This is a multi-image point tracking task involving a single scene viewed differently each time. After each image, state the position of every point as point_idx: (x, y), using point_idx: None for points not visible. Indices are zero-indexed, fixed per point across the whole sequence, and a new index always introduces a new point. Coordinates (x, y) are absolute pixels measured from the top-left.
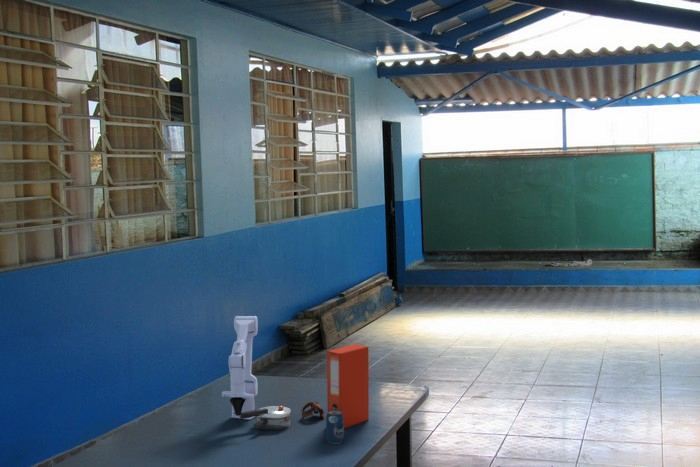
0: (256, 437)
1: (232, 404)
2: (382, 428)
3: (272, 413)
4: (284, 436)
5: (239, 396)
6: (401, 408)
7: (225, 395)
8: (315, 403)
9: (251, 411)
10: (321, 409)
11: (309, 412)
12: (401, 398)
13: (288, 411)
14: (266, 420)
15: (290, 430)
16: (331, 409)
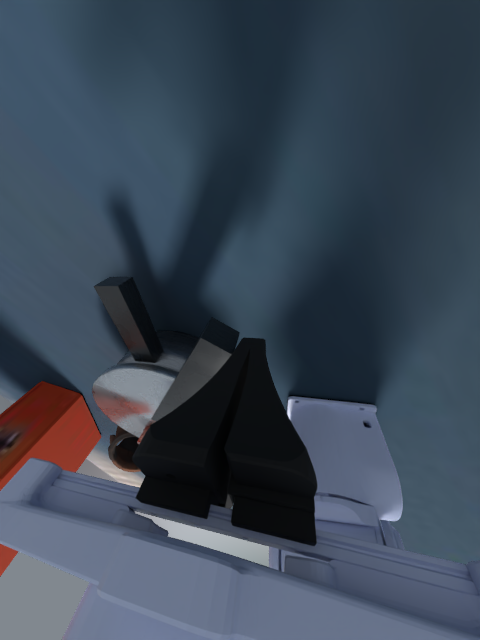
0: (122, 241)
1: (275, 407)
2: (9, 397)
3: (139, 400)
4: (65, 297)
5: (93, 538)
6: (91, 458)
7: (458, 585)
8: (113, 463)
9: (187, 388)
10: (119, 445)
11: (121, 431)
12: (128, 481)
13: (118, 421)
14: (133, 354)
15: (108, 349)
16: (26, 433)
